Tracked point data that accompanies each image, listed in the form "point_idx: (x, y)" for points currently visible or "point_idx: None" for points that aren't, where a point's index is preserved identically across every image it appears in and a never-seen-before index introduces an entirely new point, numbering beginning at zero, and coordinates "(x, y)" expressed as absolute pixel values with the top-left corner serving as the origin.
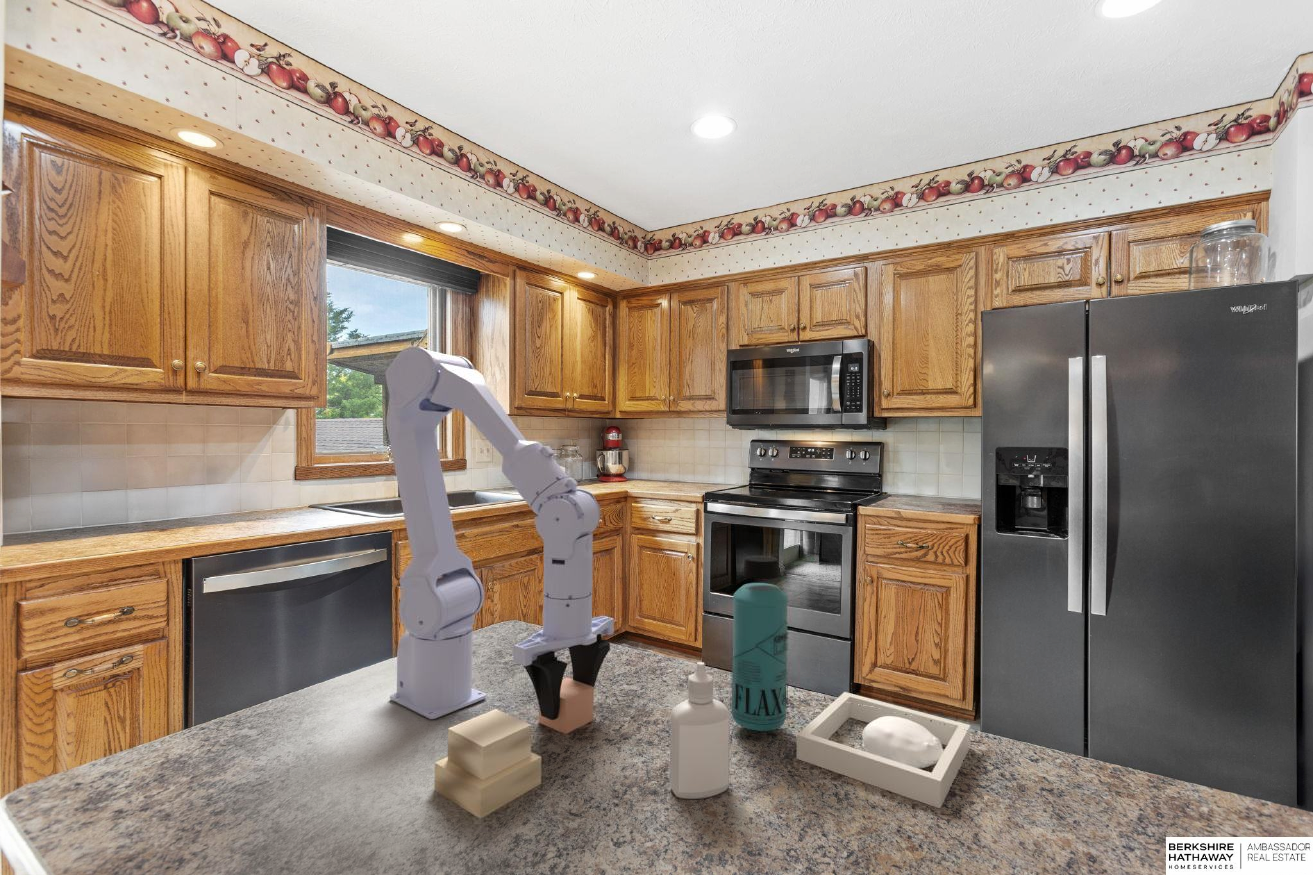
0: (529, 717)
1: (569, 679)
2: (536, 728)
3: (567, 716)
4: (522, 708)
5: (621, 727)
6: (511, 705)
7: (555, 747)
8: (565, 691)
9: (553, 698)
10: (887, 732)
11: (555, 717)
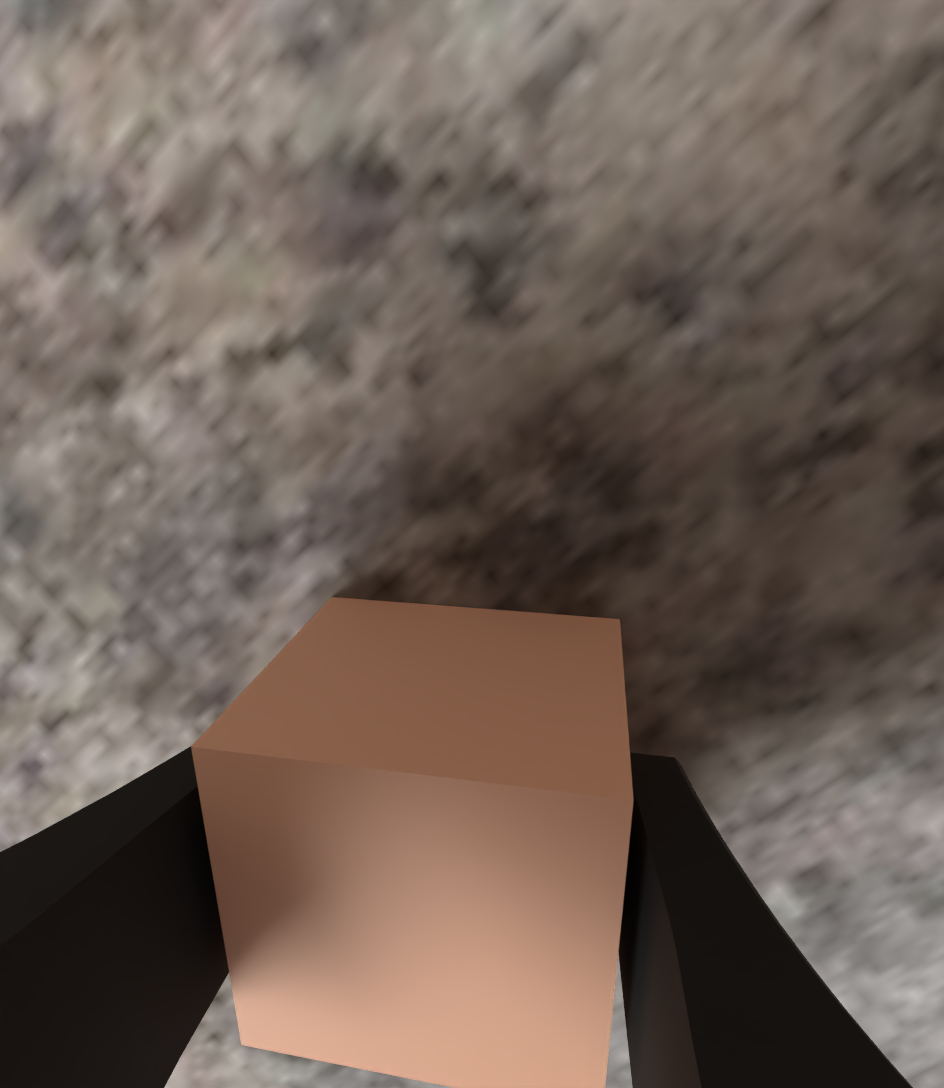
0: None
1: (252, 1009)
2: None
3: (603, 686)
4: None
5: (270, 343)
6: None
7: (841, 547)
8: (473, 911)
9: (767, 913)
10: None
11: (657, 762)
